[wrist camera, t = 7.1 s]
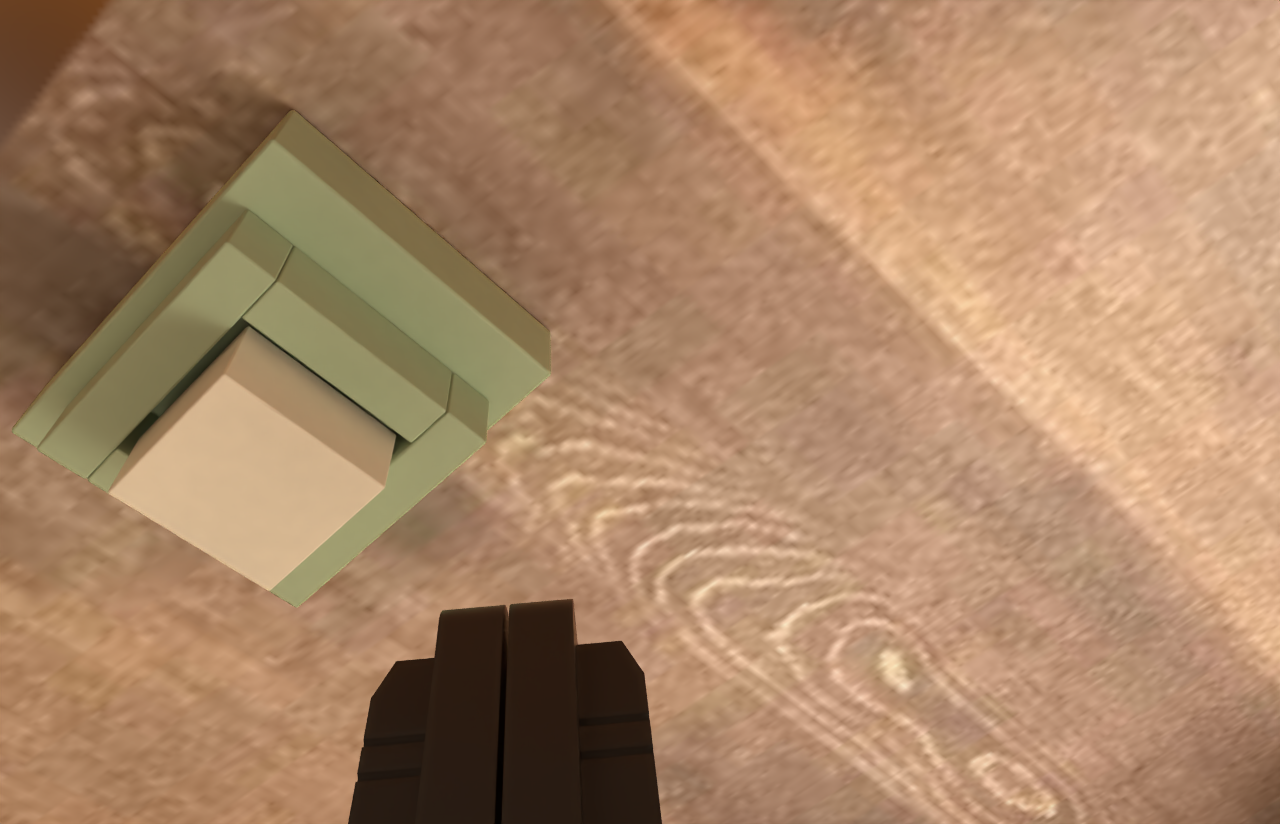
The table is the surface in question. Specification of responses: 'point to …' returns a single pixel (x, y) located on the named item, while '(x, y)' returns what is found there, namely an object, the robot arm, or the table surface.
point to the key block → (306, 331)
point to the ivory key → (257, 462)
